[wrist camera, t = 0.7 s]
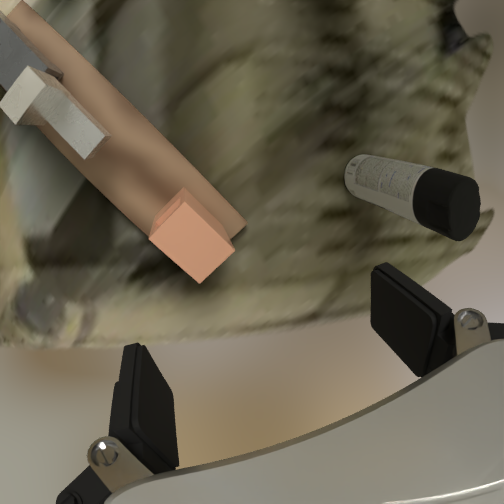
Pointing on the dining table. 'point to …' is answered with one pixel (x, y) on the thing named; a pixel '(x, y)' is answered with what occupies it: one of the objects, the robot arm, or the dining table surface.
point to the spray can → (417, 193)
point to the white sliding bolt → (53, 111)
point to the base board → (122, 139)
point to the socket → (190, 236)
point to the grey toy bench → (20, 55)
